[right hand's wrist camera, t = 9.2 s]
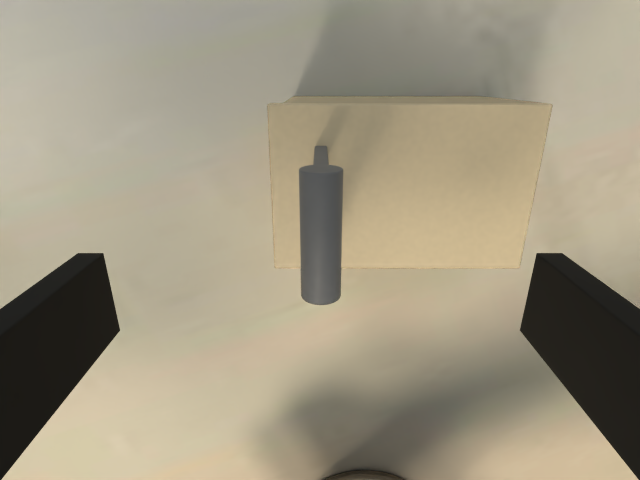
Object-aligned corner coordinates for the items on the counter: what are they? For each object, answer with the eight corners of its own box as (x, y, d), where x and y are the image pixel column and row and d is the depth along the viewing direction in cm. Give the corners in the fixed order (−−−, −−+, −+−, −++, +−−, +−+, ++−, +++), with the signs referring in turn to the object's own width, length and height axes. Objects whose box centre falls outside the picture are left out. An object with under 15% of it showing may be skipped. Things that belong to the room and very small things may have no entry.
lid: (276, 262, 26) (256, 345, 18) (269, 102, 22) (239, 116, 14) (513, 262, 26) (600, 345, 18) (544, 103, 22) (671, 116, 14)
